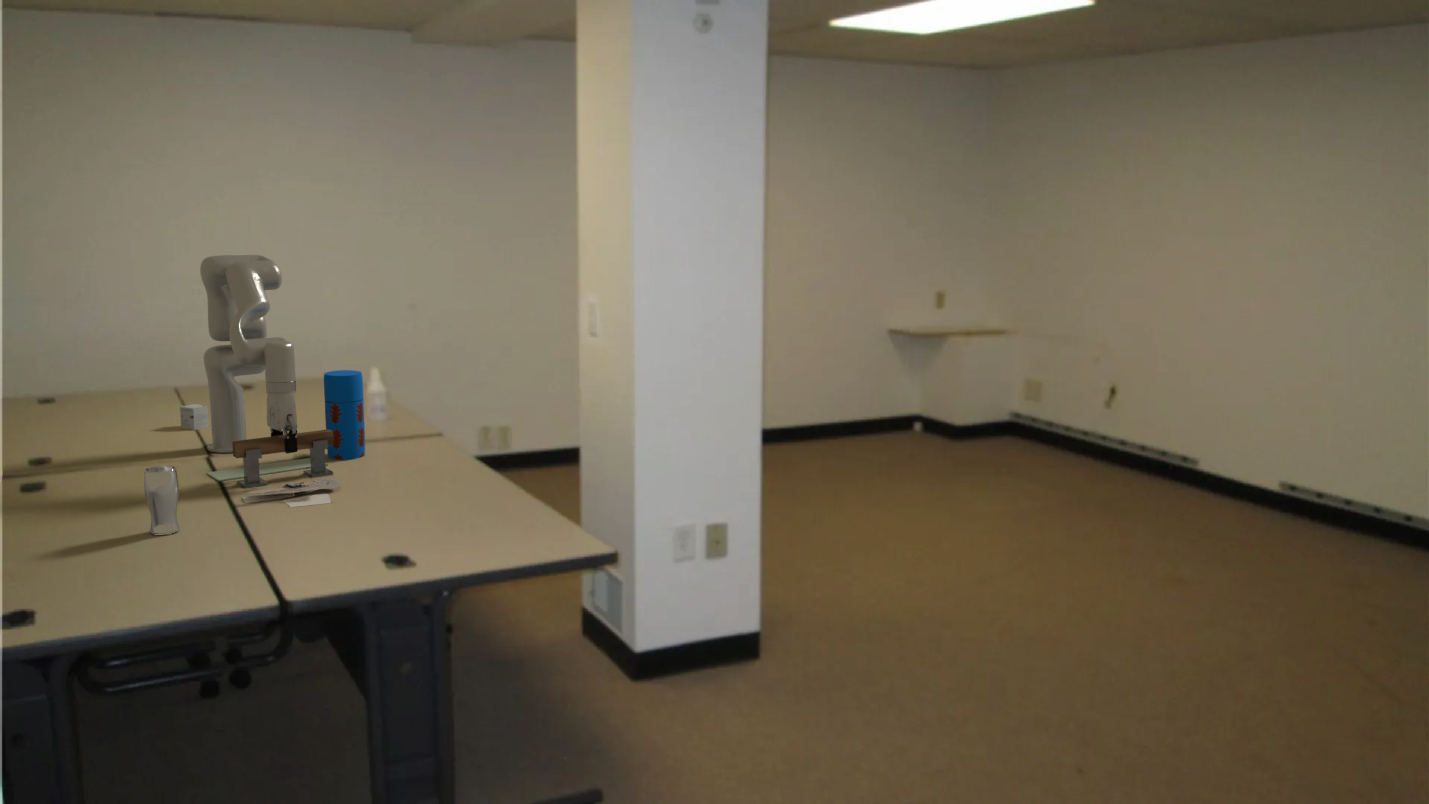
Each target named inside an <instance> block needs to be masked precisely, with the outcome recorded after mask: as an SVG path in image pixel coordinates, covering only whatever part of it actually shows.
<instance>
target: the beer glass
mask: <svg viewBox="0 0 1429 804" xmlns="http://www.w3.org/2000/svg"><path fill="white" fill-rule="evenodd" d="M143 471H144V473H143V474H144V476H143V485H144V486H143V488H144V495H145V499H146V503H147V504H146V505H147V506H148V510H149V513H150V520H151V521H150V529H149V533H153V534H165V533H166V534H167V533H174V534H176V533H175V532H177V531H179V532H180V530H181V529H180V526H179V522H178V517H177V513H178V512H177V511H178V501H179V490H180V489H179V488H180V487H179V485H180V484H179V479H178V478H179V477H178V471H177V466H175V465H172V464H171V465H169V464H161V465H153V466H148V467H146V468H144V470H143ZM177 533H178V532H177Z"/></svg>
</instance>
